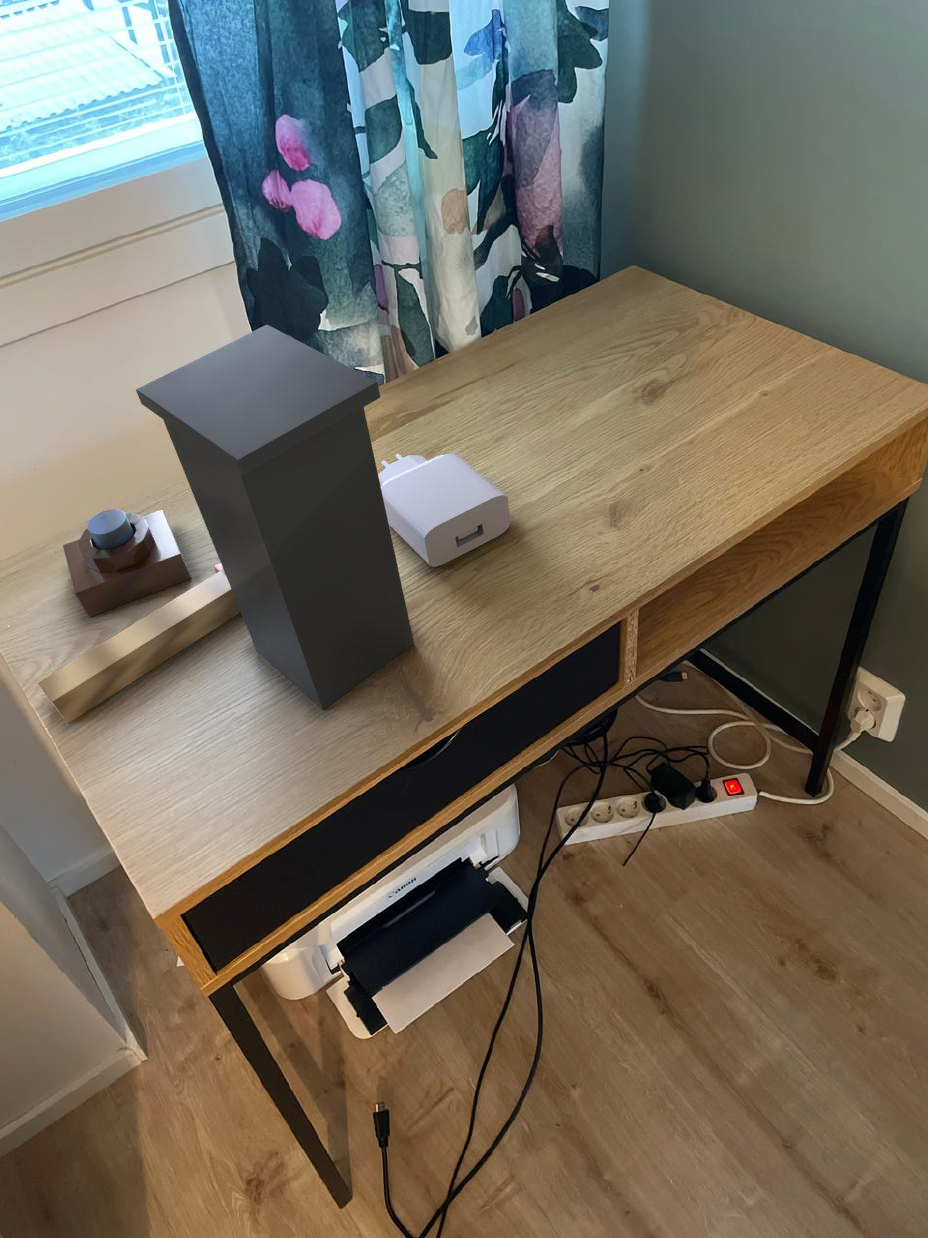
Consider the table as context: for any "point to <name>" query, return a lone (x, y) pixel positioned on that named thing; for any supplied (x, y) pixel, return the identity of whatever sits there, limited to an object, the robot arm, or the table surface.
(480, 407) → the table surface
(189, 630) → the stick
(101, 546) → the plunger
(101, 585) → the button base
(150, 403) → the stand
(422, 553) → the charger
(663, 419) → the table surface
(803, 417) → the table surface
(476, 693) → the table surface
